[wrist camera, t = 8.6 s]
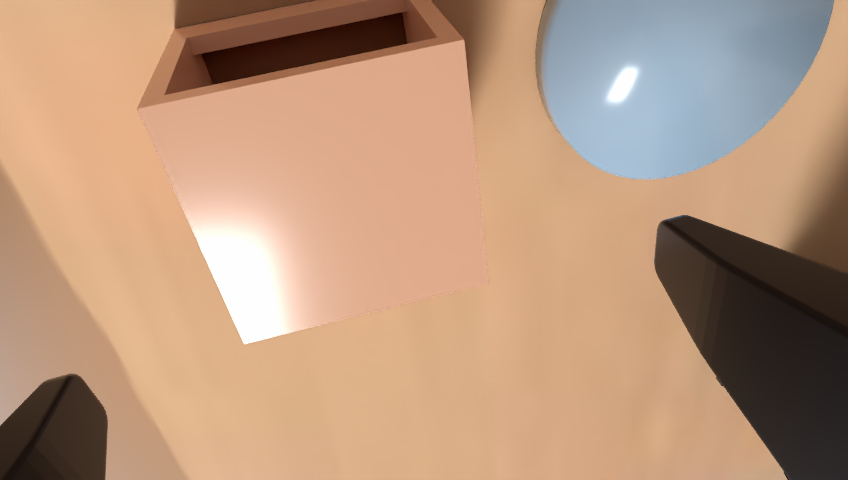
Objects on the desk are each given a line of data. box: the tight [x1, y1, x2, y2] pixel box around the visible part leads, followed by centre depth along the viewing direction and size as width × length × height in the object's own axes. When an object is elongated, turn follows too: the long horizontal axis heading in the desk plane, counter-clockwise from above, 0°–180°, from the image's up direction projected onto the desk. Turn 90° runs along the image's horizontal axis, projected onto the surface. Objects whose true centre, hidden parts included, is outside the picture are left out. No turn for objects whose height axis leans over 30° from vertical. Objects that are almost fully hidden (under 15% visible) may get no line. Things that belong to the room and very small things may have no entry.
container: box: [137, 0, 489, 344], centre depth 18 cm, size 7×7×6 cm
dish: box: [536, 0, 834, 179], centre depth 20 cm, size 10×10×1 cm
